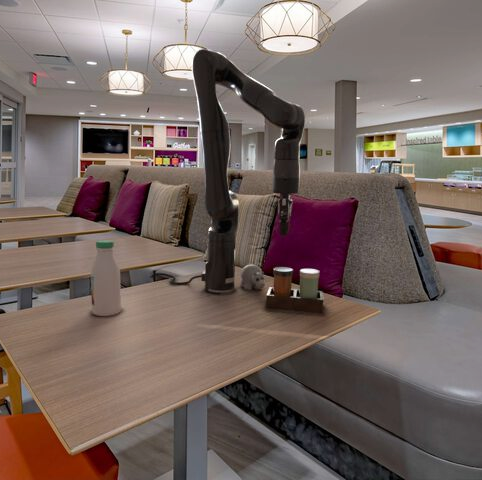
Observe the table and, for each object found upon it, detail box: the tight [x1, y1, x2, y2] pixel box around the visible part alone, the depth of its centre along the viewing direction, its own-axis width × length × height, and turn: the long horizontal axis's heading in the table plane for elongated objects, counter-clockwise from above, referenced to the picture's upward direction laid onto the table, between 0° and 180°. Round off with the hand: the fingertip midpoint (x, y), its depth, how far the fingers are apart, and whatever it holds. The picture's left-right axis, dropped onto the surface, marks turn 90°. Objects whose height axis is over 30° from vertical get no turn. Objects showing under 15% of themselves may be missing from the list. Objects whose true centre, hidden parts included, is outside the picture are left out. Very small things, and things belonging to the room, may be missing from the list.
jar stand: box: [265, 286, 324, 315], centre depth 123 cm, size 16×8×5 cm, turn 79°
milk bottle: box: [90, 239, 122, 317], centre depth 114 cm, size 8×8×20 cm
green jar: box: [299, 268, 321, 299], centre depth 121 cm, size 6×6×11 cm
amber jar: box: [272, 266, 294, 296], centre depth 123 cm, size 6×6×11 cm
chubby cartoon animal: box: [239, 264, 266, 291], centre depth 138 cm, size 7×12×8 cm, turn 21°
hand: (284, 232), depth 121 cm, fingers open, 8 cm apart
